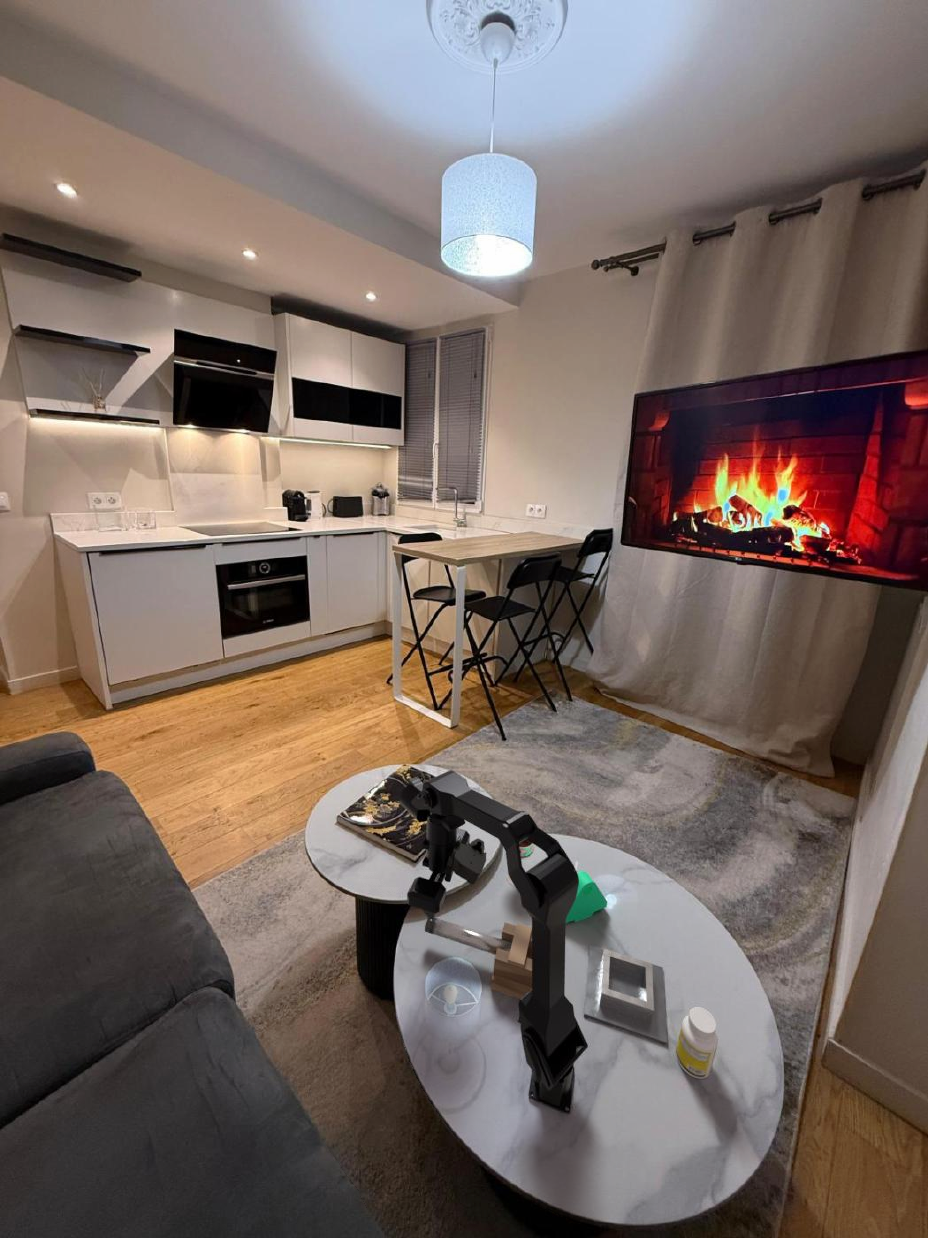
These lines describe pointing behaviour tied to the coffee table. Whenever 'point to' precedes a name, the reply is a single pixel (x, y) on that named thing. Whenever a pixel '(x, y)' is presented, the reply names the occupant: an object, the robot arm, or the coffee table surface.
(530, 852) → the wineglass
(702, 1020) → the supplement bottle
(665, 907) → the coffee table surface
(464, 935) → the pin
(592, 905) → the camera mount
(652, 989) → the socket
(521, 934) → the mount
